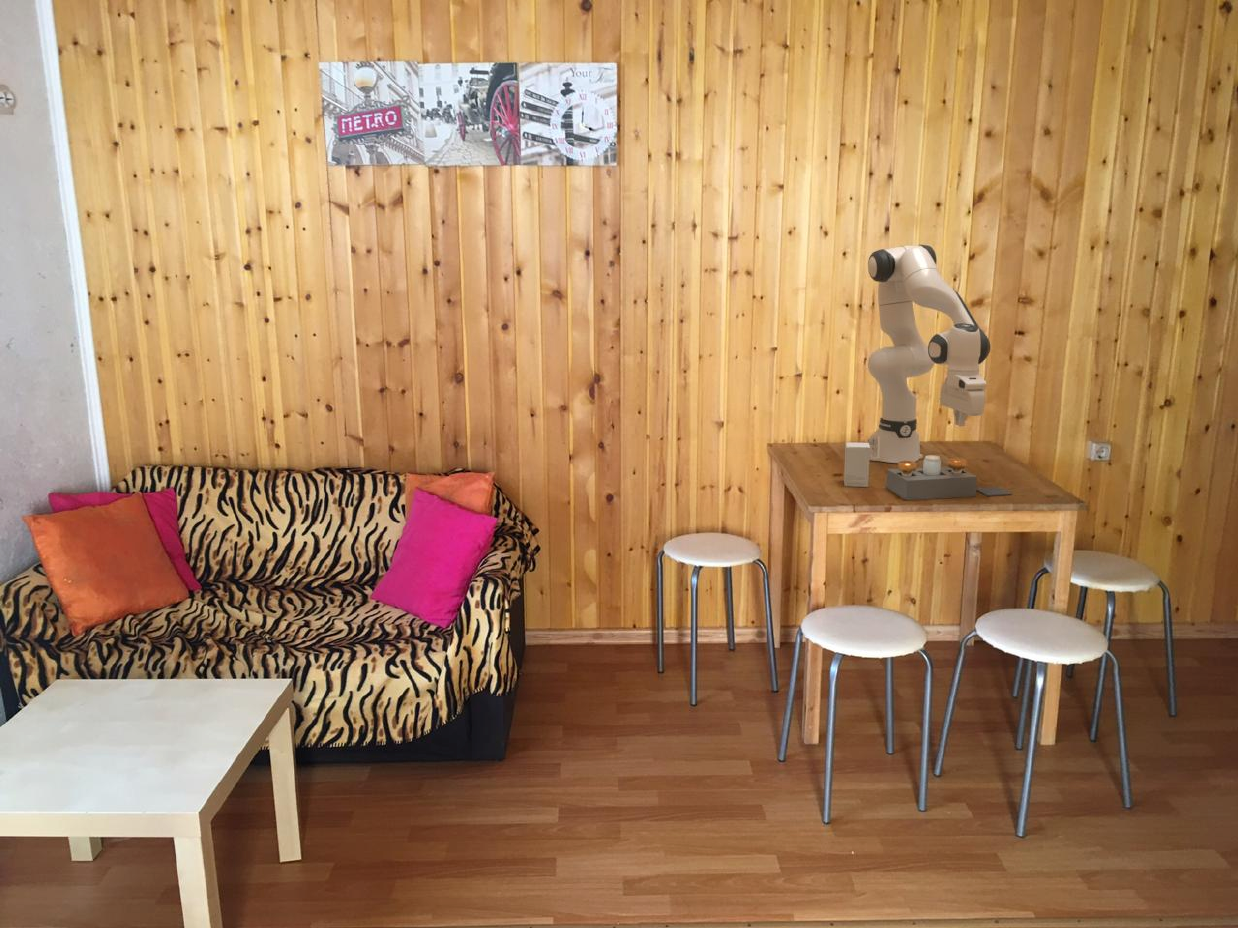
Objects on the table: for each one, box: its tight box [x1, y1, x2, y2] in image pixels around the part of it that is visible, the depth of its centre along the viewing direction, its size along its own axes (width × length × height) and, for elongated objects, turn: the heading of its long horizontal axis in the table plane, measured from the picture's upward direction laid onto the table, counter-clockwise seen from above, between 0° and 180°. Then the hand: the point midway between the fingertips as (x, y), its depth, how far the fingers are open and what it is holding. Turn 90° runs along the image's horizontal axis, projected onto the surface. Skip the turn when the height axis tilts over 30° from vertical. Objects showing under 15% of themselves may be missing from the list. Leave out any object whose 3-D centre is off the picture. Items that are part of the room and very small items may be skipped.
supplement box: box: [843, 441, 870, 488], centre depth 314 cm, size 7×7×13 cm
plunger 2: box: [947, 457, 967, 474], centre depth 305 cm, size 5×5×8 cm
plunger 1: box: [897, 461, 917, 477], centre depth 303 cm, size 5×5×8 cm
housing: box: [885, 465, 978, 501], centre depth 305 cm, size 14×22×6 cm, turn 99°
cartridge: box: [922, 454, 942, 476], centre depth 304 cm, size 5×5×11 cm
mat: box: [976, 486, 1013, 497], centre depth 304 cm, size 8×8×1 cm
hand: (959, 425), depth 302 cm, fingers closed
